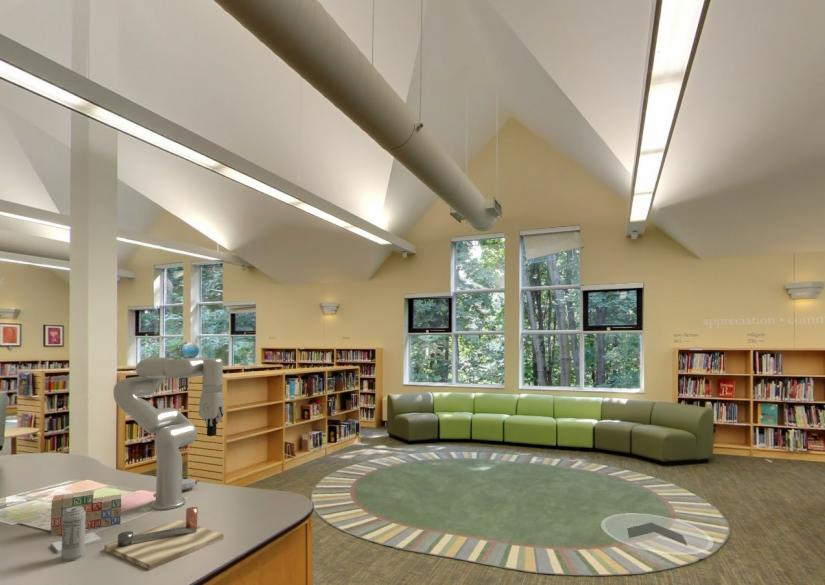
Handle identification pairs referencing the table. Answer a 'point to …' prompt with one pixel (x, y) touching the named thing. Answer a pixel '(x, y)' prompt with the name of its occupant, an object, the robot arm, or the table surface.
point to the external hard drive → (89, 539)
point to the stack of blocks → (86, 509)
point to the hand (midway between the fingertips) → (211, 435)
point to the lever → (191, 526)
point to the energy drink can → (73, 533)
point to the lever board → (165, 545)
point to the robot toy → (188, 483)
